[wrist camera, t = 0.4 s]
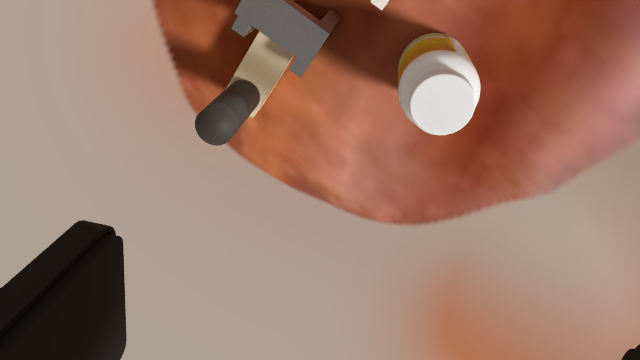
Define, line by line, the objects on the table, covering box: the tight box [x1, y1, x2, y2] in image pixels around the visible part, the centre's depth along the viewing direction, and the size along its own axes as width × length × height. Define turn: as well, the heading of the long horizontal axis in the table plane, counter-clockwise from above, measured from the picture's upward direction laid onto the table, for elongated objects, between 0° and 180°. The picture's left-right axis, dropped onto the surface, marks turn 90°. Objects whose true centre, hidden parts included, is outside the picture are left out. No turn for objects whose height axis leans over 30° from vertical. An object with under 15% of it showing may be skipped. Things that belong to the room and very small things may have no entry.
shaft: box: [195, 31, 294, 145], centre depth 35 cm, size 8×3×10 cm, turn 146°
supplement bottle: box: [398, 33, 480, 135], centre depth 34 cm, size 5×5×10 cm
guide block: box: [231, 0, 342, 77], centre depth 34 cm, size 4×6×7 cm
